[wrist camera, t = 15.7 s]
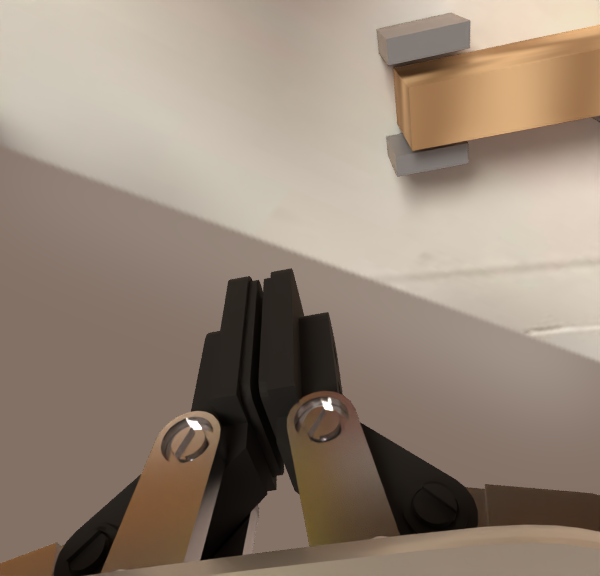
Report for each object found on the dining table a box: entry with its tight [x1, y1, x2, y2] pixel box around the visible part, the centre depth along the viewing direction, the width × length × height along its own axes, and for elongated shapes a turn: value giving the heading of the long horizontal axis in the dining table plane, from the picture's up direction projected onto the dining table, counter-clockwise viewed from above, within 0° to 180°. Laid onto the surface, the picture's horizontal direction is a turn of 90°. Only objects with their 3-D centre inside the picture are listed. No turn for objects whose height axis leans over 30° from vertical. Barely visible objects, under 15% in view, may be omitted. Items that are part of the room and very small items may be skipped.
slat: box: [393, 25, 600, 151], centre depth 25 cm, size 16×3×5 cm, turn 101°
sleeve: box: [377, 13, 470, 177], centre depth 26 cm, size 4×7×4 cm, turn 11°
